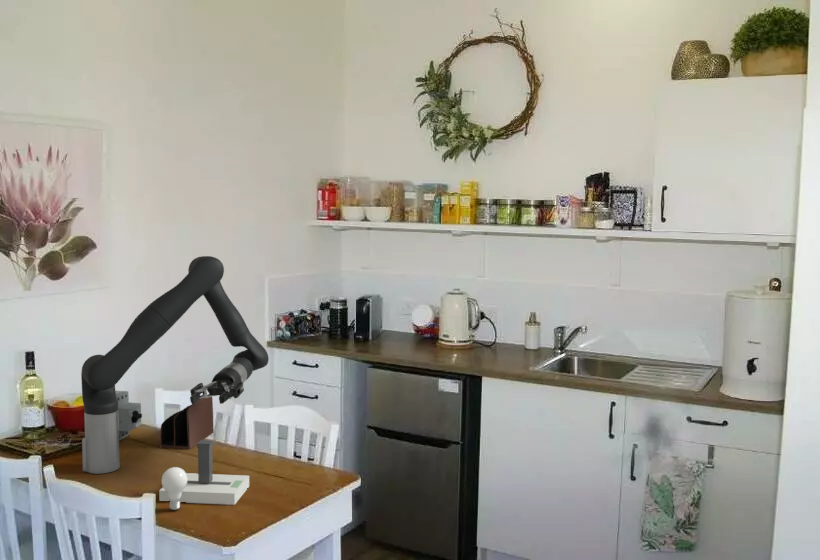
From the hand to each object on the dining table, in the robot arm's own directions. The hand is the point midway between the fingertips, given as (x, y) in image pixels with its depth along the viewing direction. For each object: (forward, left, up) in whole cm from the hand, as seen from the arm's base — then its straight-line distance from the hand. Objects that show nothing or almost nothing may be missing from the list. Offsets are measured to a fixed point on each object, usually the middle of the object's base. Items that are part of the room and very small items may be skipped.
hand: (206, 400), depth 227 cm
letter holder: (-19, +38, -24) cm, 49 cm away
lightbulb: (-1, -21, -23) cm, 32 cm away
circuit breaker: (-41, +37, -23) cm, 60 cm away
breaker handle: (+3, -9, -20) cm, 22 cm away
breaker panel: (+3, -9, -23) cm, 25 cm away
